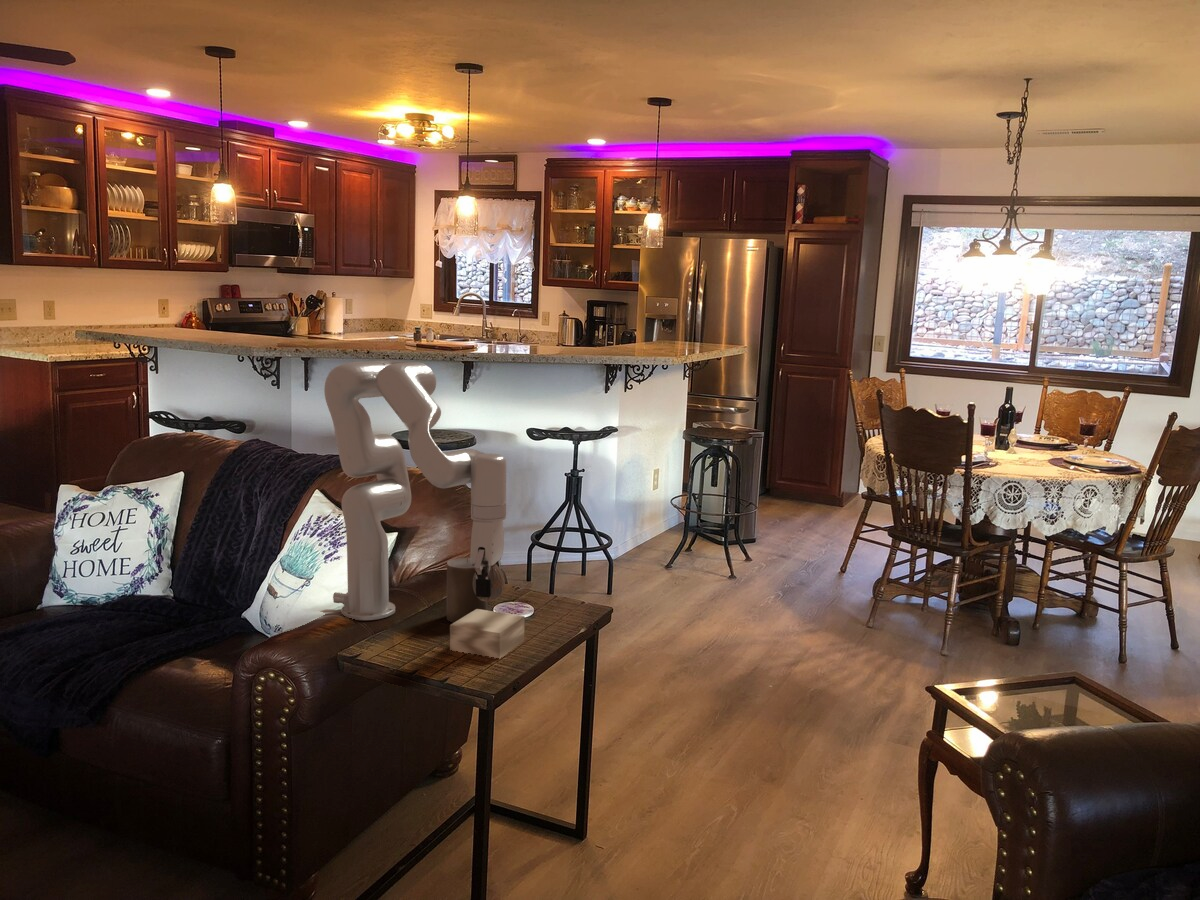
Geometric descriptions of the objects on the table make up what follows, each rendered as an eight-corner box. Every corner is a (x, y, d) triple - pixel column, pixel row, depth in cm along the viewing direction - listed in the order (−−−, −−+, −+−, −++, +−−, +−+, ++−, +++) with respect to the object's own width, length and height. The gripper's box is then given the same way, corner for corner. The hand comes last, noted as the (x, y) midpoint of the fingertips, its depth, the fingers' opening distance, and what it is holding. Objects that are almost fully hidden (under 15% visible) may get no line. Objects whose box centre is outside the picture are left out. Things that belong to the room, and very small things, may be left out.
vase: (482, 592, 212) (482, 554, 211) (509, 596, 210) (510, 557, 209) (466, 601, 206) (466, 561, 205) (495, 605, 204) (495, 565, 202)
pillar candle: (484, 625, 222) (485, 563, 220) (442, 624, 222) (443, 561, 220) (489, 612, 232) (490, 552, 230) (449, 611, 232) (450, 551, 230)
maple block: (450, 651, 206) (450, 625, 206) (476, 634, 218) (476, 608, 217) (499, 660, 202) (499, 633, 201) (524, 641, 213) (524, 616, 212)
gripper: (483, 502, 214) (483, 579, 217) (458, 519, 197) (459, 602, 200) (516, 504, 213) (515, 581, 216) (493, 521, 196) (493, 605, 199)
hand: (488, 590), depth 208 cm, fingers closed on vase, 6 cm apart
